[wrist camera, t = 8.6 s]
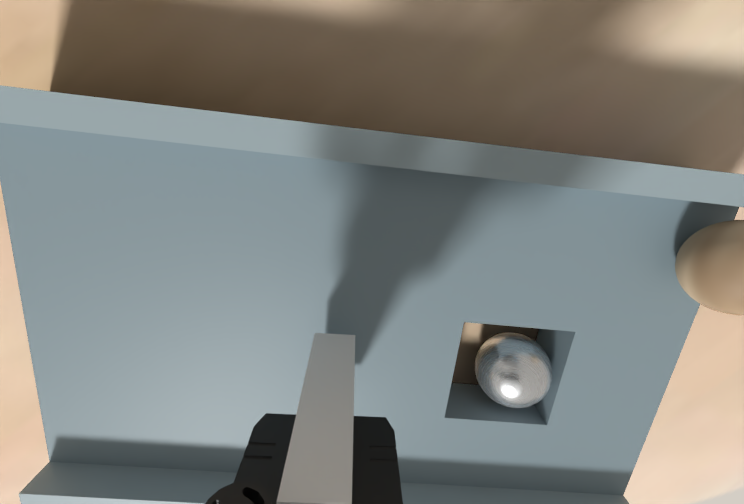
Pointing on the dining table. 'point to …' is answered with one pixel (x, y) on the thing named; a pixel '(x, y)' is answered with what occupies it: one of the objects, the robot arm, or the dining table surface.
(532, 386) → the steel ball
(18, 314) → the dining table surface
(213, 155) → the plate
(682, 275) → the cork ball
